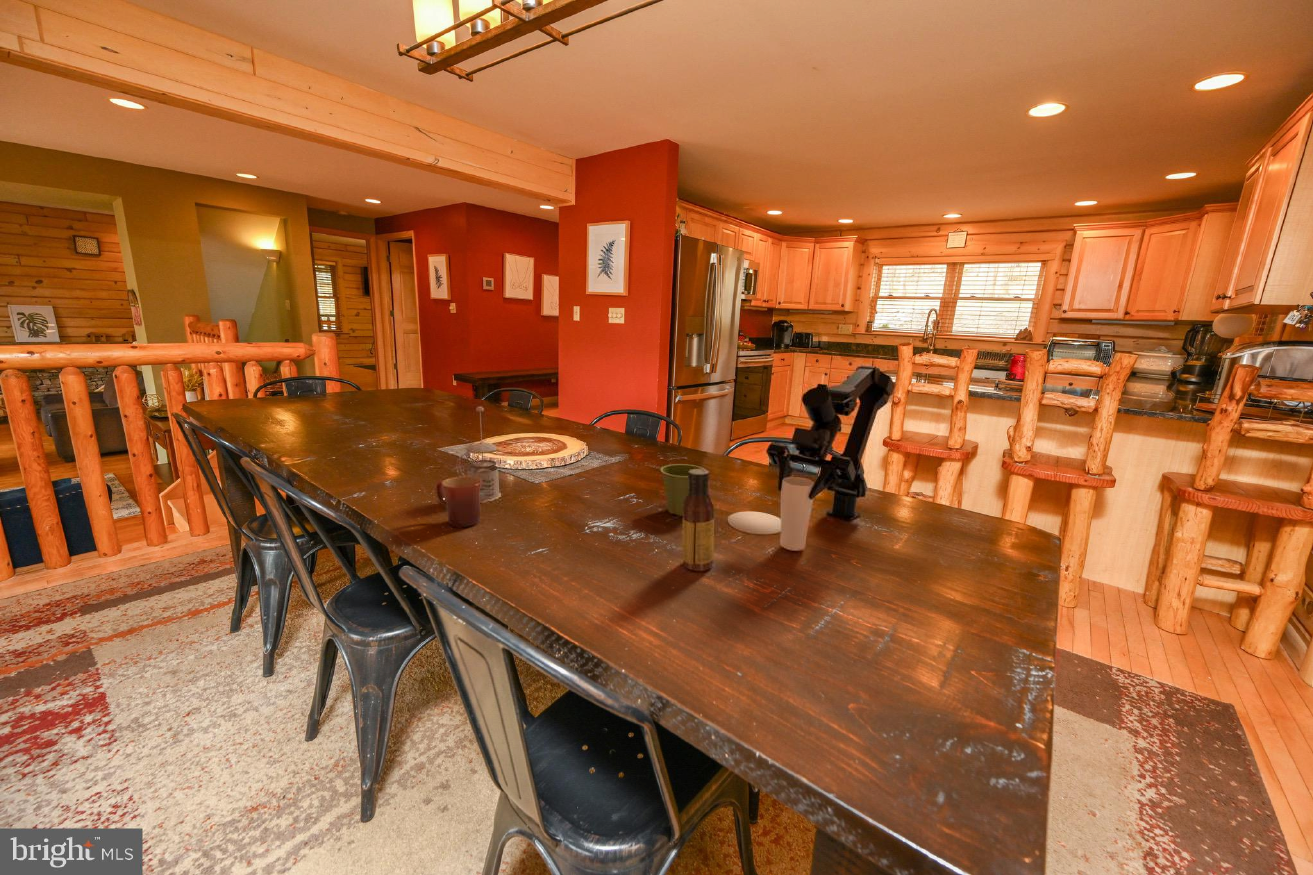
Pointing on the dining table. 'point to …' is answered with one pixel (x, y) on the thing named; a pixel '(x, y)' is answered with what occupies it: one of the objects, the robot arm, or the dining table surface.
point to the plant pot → (676, 485)
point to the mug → (461, 500)
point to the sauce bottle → (698, 523)
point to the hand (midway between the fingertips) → (794, 494)
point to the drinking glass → (795, 512)
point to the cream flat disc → (755, 522)
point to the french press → (480, 448)
